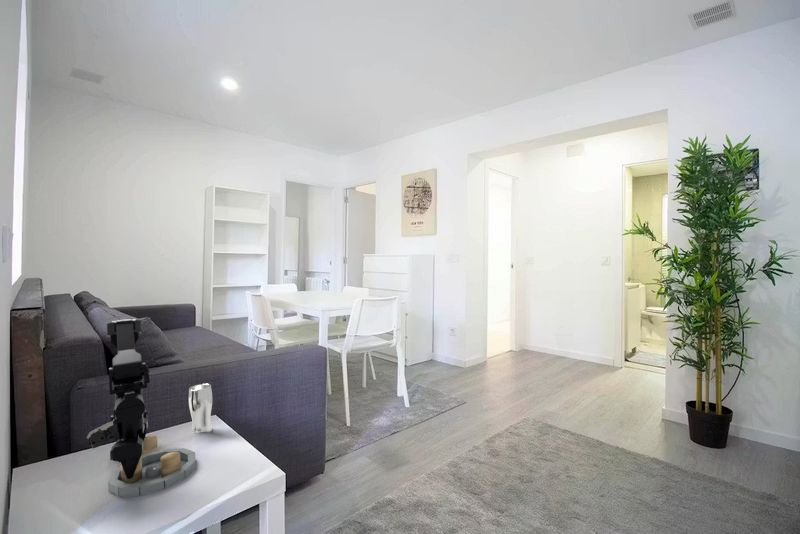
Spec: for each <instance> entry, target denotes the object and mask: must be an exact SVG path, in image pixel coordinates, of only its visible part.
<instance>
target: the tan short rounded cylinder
mask: <svg viewBox="0 0 800 534" xmlns="http://www.w3.org/2000/svg"><path fill="white" fill-rule="evenodd" d="M180 468H181V461H180V453H179V452H171V453H167V454H165V455H163V456H162V457H161V478H163V477H165V476H167V475H169V474H172V473H174V472H176V471H178V470H179V469H180Z"/></svg>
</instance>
